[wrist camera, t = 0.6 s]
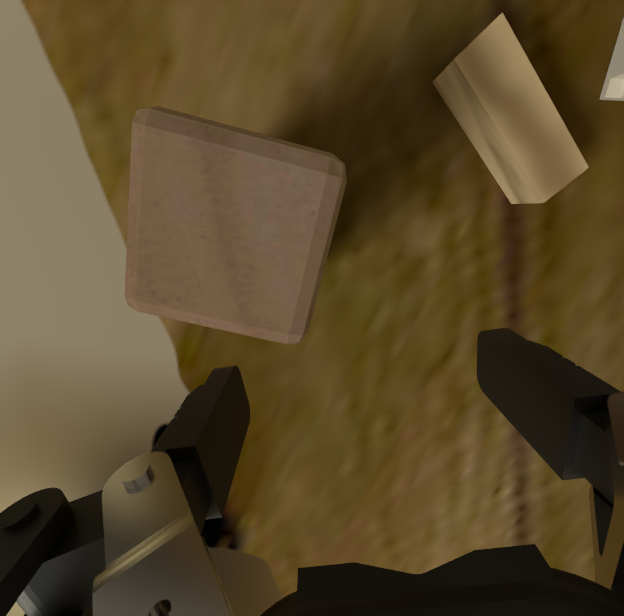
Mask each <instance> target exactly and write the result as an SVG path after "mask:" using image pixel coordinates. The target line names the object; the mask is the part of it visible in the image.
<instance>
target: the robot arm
mask: <svg viewBox="0 0 624 616" xmlns="http://www.w3.org/2000/svg"><path fill="white" fill-rule="evenodd" d="M477 379H478V382H479V385H480V388H481V389H482V391H483V392H484V394H485V395H486V396H487V397H488V398H489V399H490V400H491V402H492V403H493V404H494V405H495V406H496V407H497V408H498V409H499V410H500V412H501V413H502V414H503V415H504V416H505V417H506V418H507V419H508V420H509V422H510V423H511V424H512V425H513V426H514V427H515V428H516V429H517V430H518V432H519V433H520V434H521V435H522V436H523V437H524V438H525V439H526V440H527V442H528V443H529V444H530V445H531V446H532V447H533V448H534V449H535V450H536V452H537V453H538V454H539V455H540V456H541V457H542V458H543V459H544V460H545V462H546V463H547V464H548V465H549V466H550V467H551V468H552V469H553V470H554V472H555V473H556V474H557V475H558V476H559V477H560V478H561V479H562V480H570V479H578V478H586V479H587V480H588V481H589V482H590V483H591V486H590V491H589V502H590V514H591V526H592V539H593V551H594V563H595V582H593V581H591V580H588V579H586V578H583V577H581V576H578V575H576V574H572V573H569V572H565V571H562V570H558V569H554V568H550V567H549V565H548V564H547V562H546V560H545V559H544V557H543V556H542V554H541V553H540V551H539V550H538V548H537V547H536V545H535V544H532V545H522V546H512V547H502V548H492V549H483V550H474V551H472V552H470V553H468V554H465V555H463V556H461V557H459V558H457V559H454V560H452V561H450V562H448V563H446V564H443V565H441V566H439V567H437V568H435V569H432V570H430V571H428V572H426V573H423V574H410V573H405V572H400V571H395V570H390V569H384V568H379V567H374V566H369V565H364V564H359V563H345V564H335V565H325V566H315V567H306V568H298V584H297V591H296V592H294V593H292V594H289V595H288V596H286V597H284V598H283V599H281V600H280V601H278V602H276V603H275V604H274V605H273V606H271V607H270V608H269V609H268V610H266V611H265V612H264V613H263V614H262V615H261V616H624V392H621V391H619V390H617V389H616V388H614V387H612V386H611V385H609V384H607V383H606V382H604V381H603V380H601V379H599V378H598V377H596V376H594V375H593V374H591V373H590V372H588V371H586V370H585V369H583V368H581V367H580V366H576V365H575V363H573V362H572V361H570V360H568V359H567V358H563V357H562V355H560V354H558V353H557V352H555V351H554V350H552V349H550V348H549V347H547V346H544V345H541V344H538V343H535V342H532V341H529V340H526V339H524V338H523V337H521V336H520V335H518V334H517V333H515V332H514V331H512V330H510V329H509V328H500V329H493V330H486V331H481V332H480V333H479V335H478V345H477ZM249 422H250V406H249V402H248V398H247V395H246V391H245V387H244V384H243V380H242V377H241V373H240V370H239V368H238V367H237V366H231V367H224V368H217V369H214V370H213V371H212V372H211V374H210V376H209V377H208V379H207V381H206V382H205V384H204V385H200V386H198V387H197V388H196V389H195V390H194V391H193V392H191V393H190V394H189V395H188V396H187V397H186V399H185V400H184V402H183V403H182V405H181V406H180V409H179V410H178V411H177V413H176V414H175V416H174V419H172V420H171V422H170V423H169V425H168V426H167V428H166V429H165V431H164V432H163V434H162V435H161V437H160V438H159V440H158V441H157V443H156V445H155V446H154V448H153V449H152V451H151V452H150V453H147V454H143V455H141V456H138V457H136V458H134V459H132V460H131V461H129V462H127V463H126V464H125V465H123V466H122V467H121V468H119V469H118V470H117V471H116V472H115V473H114V474H113V475H112V476H111V477H110V479H109V480H108V481H107V483H106V485H105V486H104V488H103V490H101V491H99V492H96V493H93V494H90V495H88V496H85V497H82V498H80V499H77V500H74V501H72V502H68V500H67V498H66V497H65V495H64V493H63V492H62V491H61V490H60V489H58V488H47V489H43V490H40V491H37V492H34V493H32V494H30V495H28V496H26V497H24V498H22V499H20V500H19V501H17V502H15V503H14V504H12V505H11V506H9V507H8V508H6V509H5V510H4V511H3V512H1V513H0V616H6V615H7V613H8V612H9V611H10V609H11V608H12V606H13V605H14V603H15V602H17V603H18V605H19V606H20V607H21V608H22V610H23V611H24V612H25V615H24V616H234V615H233V612H232V610H231V607H230V605H229V602H228V600H227V597H226V594H225V592H224V590H223V587H222V584H221V582H220V579H219V577H218V574H217V572H216V569H215V566H214V564H213V561H212V559H211V556H210V554H209V551H208V549H207V546H206V544H205V541H204V539H203V536H202V534H201V531H202V528H203V525H204V522H205V519H212V518H220V517H222V515H223V512H224V508H225V505H226V501H227V498H228V494H229V491H230V487H231V484H232V481H233V477H234V474H235V470H236V467H237V463H238V460H239V457H240V453H241V450H242V446H243V443H244V439H245V436H246V433H247V429H248V426H249Z"/></svg>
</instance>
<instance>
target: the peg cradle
mask: <svg viewBox="0 0 624 616" xmlns="http://www.w3.org/2000/svg"><path fill="white" fill-rule="evenodd" d="M599 100H616V101H624V18H623V22H622V25H621V28H620V32H619V35H618V38H617V42H616V45H615V48H614V52H613V55H612V59H611V62H610V65H609V69H608V72H607V75H606V79H605V82H604V85H603V89H602V92H601V95H600V99H599Z"/></svg>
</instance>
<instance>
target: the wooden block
mask: <svg viewBox="0 0 624 616" xmlns="http://www.w3.org/2000/svg"><path fill="white" fill-rule="evenodd" d="M346 183H347V178H346V169H345V163H343V162H342V161H341V160H340V159H338V158H337V157H336V156H335V155H334V154H332V153H329V152H326V151H322V150H318V149H315V148H311V147H307V146H303V145H300V144H296V143H292V142H289V141H285V140H281V139H277V138H274V137H270V136H266V135H263V134H259V133H255V132H252V131H248V130H244V129H240V128H237V127H233V126H229V125H226V124H222V123H218V122H214V121H211V120H207V119H203V118H200V117H196V116H192V115H188V114H185V113H181V112H177V111H174V110H170V109H166V108H162V107H159V106H158V107H153V108H148V109H138V110H137V112H136V115H135V117H134V120H133V122H132V139H131V162H130V186H129V209H128V232H127V257H126V258H127V259H126V279H125V298H126V301H127V303H128V306H130V307H131V308H133V309H135V310H137V311H139V312H143V313H148V314H153V315H157V316H161V317H166V318H170V319H175V320H179V321H184V322H188V323H193V324H197V325H202V326H207V327H211V328H216V329H220V330H225V331H229V332H234V333H238V334H243V335H247V336H252V337H256V338H261V339H265V340H270V341H275V342H279V343H284V344H297V343H299V342H300V341H301V340H302V339H303V337H304V336H305V335H306V334H307V332H308V330H309V326H310V323H311V319H312V315H313V311H314V307H315V303H316V299H317V295H318V292H319V288H320V284H321V280H322V276H323V272H324V268H325V264H326V260H327V257H328V253H329V249H330V245H331V241H332V237H333V233H334V229H335V225H336V222H337V218H338V214H339V210H340V206H341V202H342V198H343V194H344V191H345V187H346Z"/></svg>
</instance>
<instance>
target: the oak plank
mask: <svg viewBox="0 0 624 616" xmlns="http://www.w3.org/2000/svg"><path fill="white" fill-rule="evenodd" d="M432 83H433V84H434V86H435V88H436V89H437V91H438V92H439V94H440V95H441V97H442V98H443V100H444V101H445V103H446V104H447V106H448V107H449V109H450V111H451V112H452V114H453V115H454V117H455V118H456V120H457V121H458V123H459V124H460V126H461V127H462V129H463V130H464V132H465V133H466V135H467V137H468V138H469V140H470V141H471V143H472V144H473V146H474V147H475V149H476V150H477V152H478V153H479V155H480V156H481V158H482V160H483V161H484V163H485V164H486V166H487V167H488V169H489V170H490V172H491V173H492V175H493V176H494V178H495V179H496V181H497V182H498V184H499V186H500V187H501V189H502V190H503V192H504V193H505V195H506V196H507V198H508V199H509V201H510V202H511V204H523V203H544V202H546V201H547V200H548V199H549V198H551V197H552V196H553V195H554V194H556V193H557V192H558V191H560V190H561V189H562V188H563V187H565V186H566V185H567V184H569V183H570V182H571V181H572V180H574V179H575V178H576V177H578V176H579V175H580V174H581V173H583V172H584V171H585V170H586V169H588V168H589V167H588V165H587V163H586V162H585V160H584V158H583V156H582V154H581V153H580V151H579V149H578V147H577V145H576V144H575V142H574V140H573V138H572V136H571V135H570V133H569V131H568V129H567V127H566V126H565V124H564V122H563V120H562V119H561V117H560V115H559V113H558V111H557V110H556V108H555V106H554V104H553V102H552V101H551V99H550V97H549V95H548V93H547V92H546V90H545V88H544V86H543V84H542V83H541V81H540V79H539V77H538V75H537V74H536V72H535V70H534V68H533V66H532V65H531V63H530V61H529V59H528V57H527V56H526V54H525V52H524V50H523V48H522V47H521V45H520V43H519V41H518V39H517V38H516V36H515V34H514V32H513V31H512V29H511V27H510V25H509V23H508V22H507V20H506V18H505V16H504V14H503V13H501V14H500V15H499V16H498V17H497V18H496V19H495V20H494V21H493V22H492V23H491V24H490V25H489V26H488V27H487V28H486V29H485V30H484V31H483V32H482V33H480V34H479V35H478V36H477V37H476V38H475V39H474V40H473V41H472V42H471V43H470V44H469V45H468V46H467V47H466V48H465V49H464V50H463V51H462V52H461V53H460V54H459V55H458V56H457V57H456V58H455V59H454V60H453V61H452V62H451V63H450V64H449V65H448V66H447V67H446V68H445V69H444V70H443V71H442V72H441V73H440V74H439V76H438V77H437V78H436V79H435V80H434V81H433V82H432Z"/></svg>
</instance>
